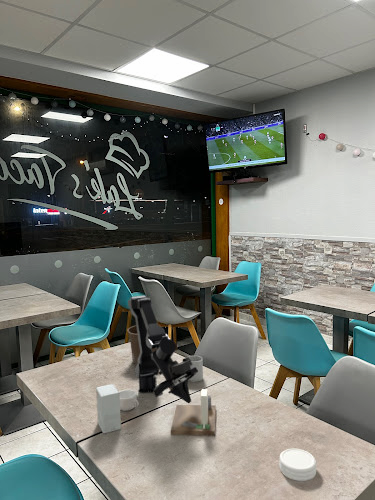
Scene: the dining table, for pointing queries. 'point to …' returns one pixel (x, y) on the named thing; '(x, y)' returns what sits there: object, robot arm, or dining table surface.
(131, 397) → the teacup
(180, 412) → the brown flat panel
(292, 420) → the dining table surface
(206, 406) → the lever
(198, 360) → the cup
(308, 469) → the coaster
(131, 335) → the plant pot
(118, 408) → the small box
